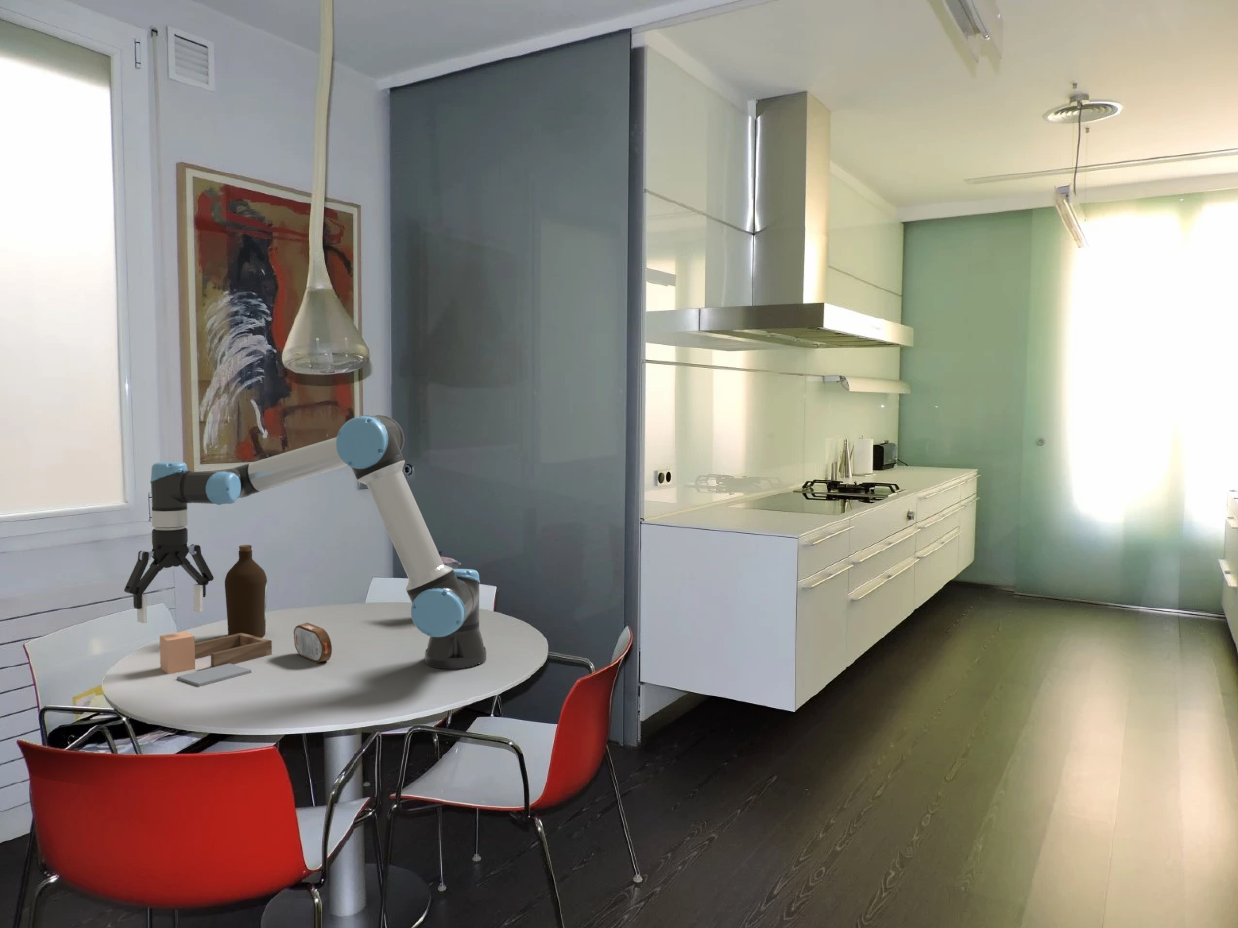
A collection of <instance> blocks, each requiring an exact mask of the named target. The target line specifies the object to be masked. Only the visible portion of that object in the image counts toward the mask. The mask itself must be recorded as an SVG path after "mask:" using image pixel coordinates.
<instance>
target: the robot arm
mask: <svg viewBox="0 0 1238 928" xmlns="http://www.w3.org/2000/svg"><path fill="white" fill-rule="evenodd" d="M404 445H405V434H404V431H403V429H402V427H401V425H400V424H399V423H398V422H397V421H396V420H395V419H393V418H391V417H390V416H386V415H378V414H377V415H369V414H367V415H366V414H361V415H359V416H355V417H353V418H351V419H349V420H347V421H346V422H345V423H343V424H342V426H341V427H340V428H339V430H338V432H337V434H336V437H333V438H330V439H327V440H323V441H319V442H316V443H313V444H309V445H306V446H303V447H299V448H296V449H293V450H289V451H286V452H283V453H279V454H276V455H272V456H269V457H267V458H262V459H259V460H256V461H252V462H250V463H245V464H241V465H239V466H235V467H231V468H227V469H219V470H213V471H211V470H210V471H191V470H188V465H187V463H185V462H184V461H160V462H156V463H153V464H152V466H151V472H150V473H151V475H150V487H151V489H150V491H151V527H153V529H152V530H151V544H152V549H151V551H145V550H140V551H138V554H137V561H136V563H135V565H134V568H133V570H132V572H131V574H130V576H129V578H128V580H127V583H126V584H125V587H124V589H123V591H124V593H127V594H131V595H132V596H133V598H132V599H133V607H134V609H136V610H137V612H136V613H137V617H136V618H137V621H136V622H138V623H141V624H146V623H148V614H147V612H148V611H147V608H148V607H147V601H148V599H147V594H145V593H144V592H145V591H146V589H147V588H148V587H149V586H150V585H151V583H152V582H153V580H154V579H155V578H156V576H157V575H158V573H159V572H161V571H162V570H163V569H170V568H171V567H174V568H175V567H180V566H181V568H182V569H183V570H184V571H185V572H186V573H187V574H188V575H189V576H190V577H191V578H192V579H193V580H194V581H195V582H196V583H195V584H193V611H194V612H197V613H203V612H204V598H206V594H207V587H206V586H208V585H209V582H212V581H213V580H214V576H213V575H214V574H212V571H211V570H210V569H211V568H209V566H208V564H207V562H206V560H205V559H204V556H203V554H202V549H201V547H202V546H200V545H199V544H194V543H193V544H190V545H188V538H189V537H188V535H189V534H188V533H189V532H188V528H187V527H186V526H188V521H189V520H188V504H209V505H210V504H212V505H213V504H215V505H219V506H220V505H226V504H227V505H228V504H229V505H231V504H233V503H235V502H237V500H238V499H241V498H243V499H244V498H246V497H250V496H251V495H254V494H258V493H260V492H263V491H267V490H269V489H274V488H276V487H280V486H284V485H287V484H290V483H294V482H296V481H301V480H304V479H307V478H310V477H313V476H314V477H315V476H319V475H321V474H324V473H327V472H332V471H334V470H338V469H339V470H340V469H341V468H346V467H348V466H349V467H351V469H352V472H353V474H354V477H355V478H356V481H357V482H358V483H361V484H363V485H366V486H367V489H368V491H369V493H370V495H371V498H372V500H373V502H374V504H375V507H376V509H377V511H378V514H379V516H380V518H381V521H382V523H383V524H384V526H385V529H386V532H387V534H388V535H389V538H390V540H391V542H392V546H393V547H394V549H395V551H396V554H397V555H398V558H399V561H400V563H401V566H402V567H403V570H404V572H405V574H406V575H407V578H408V582H407V585H406V587H405V590H406V593H407V594H408V598H409V600H410V602H411V604H412V605H411V609H410V610H411V611H410V615H411V620H412V622H413V624H414V626H415V627H416V628H417V630H418V631H420V633H422V634H424V635H426V636H429V639H428V643H427V648H426V649H425V652H424V663H425V664H426V665H427V666H430V667H433V668H438V669H446V670H447V669H449V670H450V669H451V670H452V669H466V668H465V667H467V668H471V667H470V666H472V667H475V666H474V665H476V666H478V665H477V664H479V663H481V664H483V663H485V662H486V661H487V648H486V646H485V645H484V641H483V637H482V634H481V630H480V629H481V628H480V584H481V581H480V574H479V572H478V571H477V570H476V569H472V568H470V569H469V568H457V569H453V568H451V567H449V566H446V565H444V564H443V562H442V560H441V557H440V555H439V553H438V551H439V550H438V549H437V546H436V544H435V542H434V540H433V537H432V535H431V533H430V531H429V528H428V527H427V523H426V522H425V519H424V516H423V514H422V513H421V510H420V508H419V505H418V503H417V502H416V498H415V497H414V495H413V492H412V490H411V488H410V486H409V483H408V481H407V479H406V476H405V474H404V471H403V468H404V465H405V463H406V461H405V458H404V456H403V454H402V451H403V448H404ZM188 554H190V555H191V557H192V560H193V561H194V563H195V565H196V566H197V569H196V568H195V567H194V566H193V564H192V563H191V561H190V560H189V559H188V558H187V556H188ZM151 558H152V559H153V560H152V562H151V564H149V568H148V569H147V571H145V570H146V568H147V566H148V563H149V562H150V560H151ZM198 570H199V571H198ZM485 660H486V661H485ZM484 661H485V662H484ZM482 662H483V663H482ZM479 665H480V664H479Z"/></svg>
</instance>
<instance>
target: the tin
mask: <svg viewBox="0 0 1238 928" xmlns="http://www.w3.org/2000/svg"><path fill="white" fill-rule="evenodd" d="M293 639H294V647H295V650H296V652H297V654H298V655H300V656H301V657H302V658H305V659H307V660H310V661H312V662H313V663H317V664H319V663H323V662H328V661H329V660H330V659H331V657H332V653H333V646H332V640H331V638H330V635H329V634H328V632H327V631H326V629H324V628H322V627H321V626H317V625H315V624H312V623H310V622H305V623H302V624H301V623H300V624H298V625H296V626H295V628H294V629H293Z"/></svg>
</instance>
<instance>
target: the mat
mask: <svg viewBox="0 0 1238 928" xmlns="http://www.w3.org/2000/svg"><path fill="white" fill-rule="evenodd" d="M251 673H252V669H249V668H246V667H244V666H240V665H237V664H230V663H228V664H225V665H221V666H217V667H213V668H211V667H209V668H204V669H201V670H197V671H194V672H191V673H186V674H181V675H178V676H177V677H176V680H178V679H179V681H182V682H185V683H188V684H191V685H194V686H196V687H201V686H202V687H203V686H206V685H210V684H213V683H216V682H221V681H224V680H223V679H225V680H228V679H232V678H236V677H239V676H242V675H247V674H251ZM227 678H228V679H227Z"/></svg>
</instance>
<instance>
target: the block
mask: <svg viewBox="0 0 1238 928" xmlns="http://www.w3.org/2000/svg"><path fill="white" fill-rule="evenodd" d="M195 643H196V642H195V636H194V635H193V634H192V633H190V632H188V631H180V632H173V633H168V634H161V635H159V653H160V654H159V658H160V661H159V662H160V665H159V666H160V669H161V670H162V671H164V672H165V673H166V674H168V675H170V674H176V673H181V672H186V671H193V670H195V669H196V659H195Z"/></svg>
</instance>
